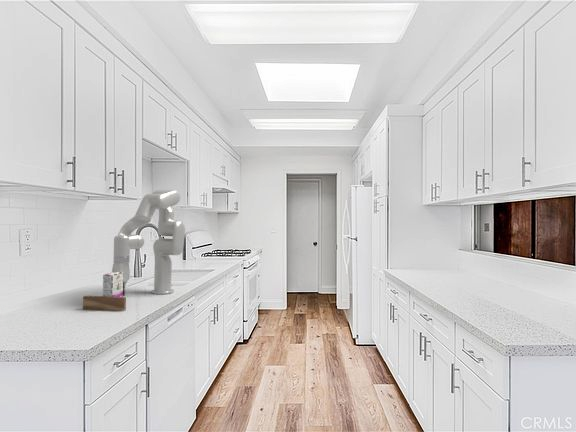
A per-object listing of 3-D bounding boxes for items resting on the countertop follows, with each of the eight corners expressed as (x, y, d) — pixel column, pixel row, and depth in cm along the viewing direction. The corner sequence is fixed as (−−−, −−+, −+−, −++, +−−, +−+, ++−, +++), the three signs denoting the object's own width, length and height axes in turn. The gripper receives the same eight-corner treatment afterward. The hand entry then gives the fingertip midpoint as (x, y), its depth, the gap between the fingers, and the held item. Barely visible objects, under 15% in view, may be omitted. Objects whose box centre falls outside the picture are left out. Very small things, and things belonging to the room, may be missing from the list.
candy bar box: (113, 304, 203) (114, 271, 203) (123, 304, 203) (124, 271, 203) (101, 309, 192) (102, 274, 192) (112, 309, 191) (112, 274, 192)
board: (85, 308, 193) (85, 295, 193) (125, 310, 191) (126, 297, 191) (82, 309, 191) (83, 296, 191) (123, 310, 189) (123, 297, 189)
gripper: (121, 258, 214) (121, 293, 214) (106, 261, 199) (105, 298, 199) (135, 258, 213) (134, 293, 213) (121, 261, 198) (120, 299, 198)
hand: (120, 296), depth 206 cm, fingers closed
